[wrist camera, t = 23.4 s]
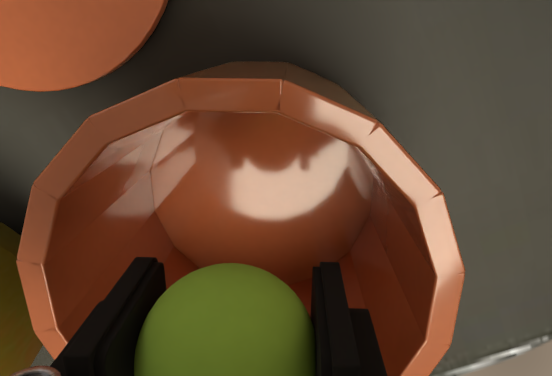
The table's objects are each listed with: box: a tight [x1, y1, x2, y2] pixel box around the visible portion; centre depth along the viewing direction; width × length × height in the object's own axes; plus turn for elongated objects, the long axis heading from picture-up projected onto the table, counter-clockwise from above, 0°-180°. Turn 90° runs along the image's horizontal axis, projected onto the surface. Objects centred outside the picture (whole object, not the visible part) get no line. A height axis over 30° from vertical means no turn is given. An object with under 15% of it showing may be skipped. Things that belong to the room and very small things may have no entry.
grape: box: [134, 263, 316, 376], centre depth 10 cm, size 4×4×4 cm
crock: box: [16, 61, 465, 376], centre depth 16 cm, size 13×13×10 cm
